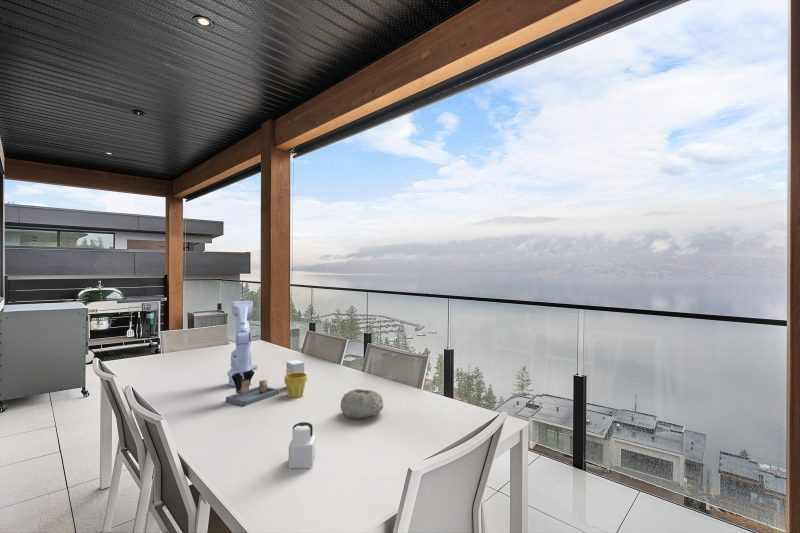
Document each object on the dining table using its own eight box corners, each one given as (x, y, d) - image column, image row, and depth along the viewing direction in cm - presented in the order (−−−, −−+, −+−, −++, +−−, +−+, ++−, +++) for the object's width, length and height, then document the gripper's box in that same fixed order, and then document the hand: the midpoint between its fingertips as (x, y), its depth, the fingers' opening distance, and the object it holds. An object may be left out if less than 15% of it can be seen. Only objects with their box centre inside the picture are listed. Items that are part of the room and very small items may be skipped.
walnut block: (235, 392, 174) (235, 380, 174) (243, 390, 178) (243, 378, 178) (241, 394, 172) (241, 381, 172) (249, 391, 176) (249, 379, 176)
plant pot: (280, 395, 183) (280, 375, 183) (298, 390, 191) (299, 370, 191) (291, 400, 176) (292, 379, 176) (311, 395, 184) (311, 375, 184)
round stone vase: (365, 404, 173) (365, 382, 173) (392, 415, 160) (392, 391, 160) (332, 414, 160) (332, 390, 161) (358, 427, 148) (358, 401, 148)
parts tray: (226, 401, 174) (226, 397, 174) (261, 389, 192) (261, 385, 192) (244, 406, 169) (244, 401, 169) (278, 393, 186) (278, 389, 186)
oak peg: (257, 392, 185) (257, 381, 185) (263, 390, 188) (263, 379, 188) (263, 394, 183) (263, 382, 183) (268, 392, 186) (268, 380, 186)
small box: (304, 388, 195) (304, 362, 195) (292, 390, 191) (292, 364, 191) (297, 384, 201) (297, 359, 201) (285, 386, 197) (286, 361, 197)
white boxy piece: (292, 457, 124) (293, 420, 124) (315, 457, 125) (315, 419, 125) (288, 469, 117) (288, 429, 117) (312, 468, 117) (312, 429, 117)
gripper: (235, 363, 167) (234, 394, 167) (261, 356, 179) (261, 385, 179) (224, 361, 170) (224, 391, 170) (251, 354, 183) (251, 383, 183)
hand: (242, 388), depth 175 cm, fingers closed on walnut block, 4 cm apart
